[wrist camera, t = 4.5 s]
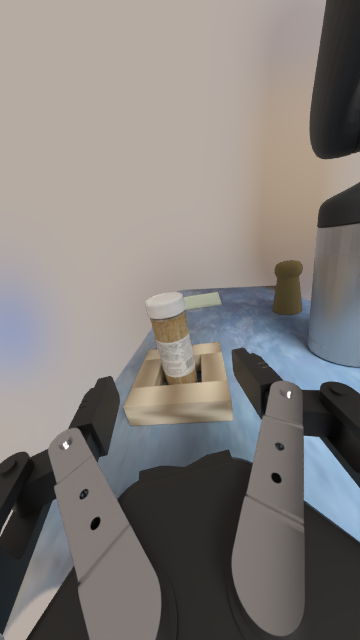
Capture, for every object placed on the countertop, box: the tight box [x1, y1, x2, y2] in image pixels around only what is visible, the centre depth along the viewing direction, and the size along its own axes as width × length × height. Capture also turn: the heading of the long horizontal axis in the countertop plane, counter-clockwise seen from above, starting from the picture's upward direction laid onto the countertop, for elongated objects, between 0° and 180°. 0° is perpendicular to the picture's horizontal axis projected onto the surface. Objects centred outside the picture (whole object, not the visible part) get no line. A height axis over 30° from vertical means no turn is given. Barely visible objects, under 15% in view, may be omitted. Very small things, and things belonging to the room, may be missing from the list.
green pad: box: [184, 292, 222, 310], centre depth 61 cm, size 12×12×1 cm
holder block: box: [123, 342, 233, 426], centre depth 27 cm, size 12×12×3 cm
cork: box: [273, 260, 303, 315], centre depth 42 cm, size 6×6×11 cm
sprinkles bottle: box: [145, 292, 199, 385], centre depth 25 cm, size 5×5×14 cm
